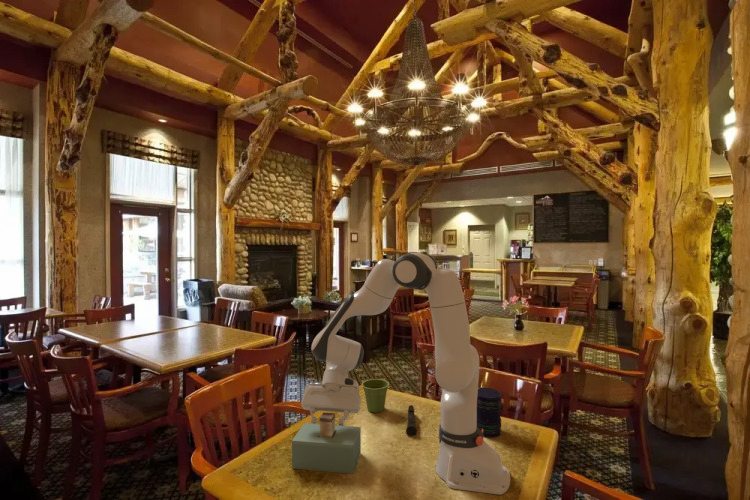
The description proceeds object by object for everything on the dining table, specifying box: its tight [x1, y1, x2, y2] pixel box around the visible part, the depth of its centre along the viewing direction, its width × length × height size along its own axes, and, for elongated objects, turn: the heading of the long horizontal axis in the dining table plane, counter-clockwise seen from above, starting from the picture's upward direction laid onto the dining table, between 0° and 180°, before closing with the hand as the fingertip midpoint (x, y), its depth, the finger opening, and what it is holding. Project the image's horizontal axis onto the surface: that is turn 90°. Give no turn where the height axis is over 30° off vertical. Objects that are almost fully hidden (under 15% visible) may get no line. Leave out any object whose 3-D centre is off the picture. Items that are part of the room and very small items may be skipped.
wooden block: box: [319, 412, 336, 438], centre depth 128 cm, size 4×4×10 cm
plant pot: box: [361, 378, 390, 414], centre depth 167 cm, size 12×12×11 cm
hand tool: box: [405, 404, 418, 437], centre depth 153 cm, size 19×4×5 cm, turn 173°
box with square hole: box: [291, 422, 362, 475], centre depth 128 cm, size 20×12×9 cm, turn 81°
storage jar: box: [477, 387, 502, 439], centre depth 147 cm, size 10×10×15 cm
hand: (327, 424), depth 128 cm, fingers open, 8 cm apart
